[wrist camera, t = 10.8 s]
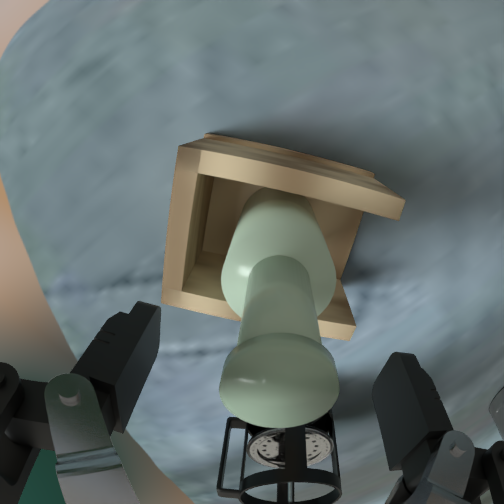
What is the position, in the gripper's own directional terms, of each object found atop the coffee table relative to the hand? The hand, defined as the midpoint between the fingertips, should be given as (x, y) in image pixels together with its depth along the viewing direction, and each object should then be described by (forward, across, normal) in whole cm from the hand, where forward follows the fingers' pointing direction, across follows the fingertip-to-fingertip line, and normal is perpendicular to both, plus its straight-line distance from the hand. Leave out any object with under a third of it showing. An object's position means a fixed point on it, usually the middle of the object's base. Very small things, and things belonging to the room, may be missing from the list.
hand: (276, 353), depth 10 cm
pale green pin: (+14, 0, 0) cm, 14 cm away
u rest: (+15, 0, 0) cm, 15 cm away
